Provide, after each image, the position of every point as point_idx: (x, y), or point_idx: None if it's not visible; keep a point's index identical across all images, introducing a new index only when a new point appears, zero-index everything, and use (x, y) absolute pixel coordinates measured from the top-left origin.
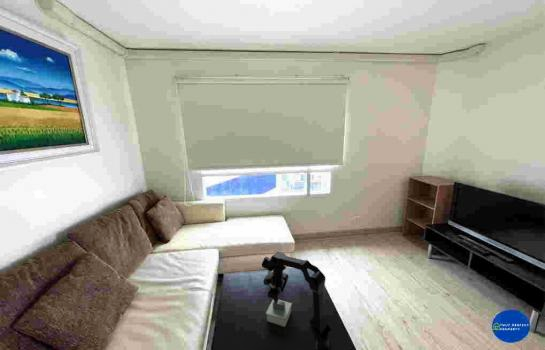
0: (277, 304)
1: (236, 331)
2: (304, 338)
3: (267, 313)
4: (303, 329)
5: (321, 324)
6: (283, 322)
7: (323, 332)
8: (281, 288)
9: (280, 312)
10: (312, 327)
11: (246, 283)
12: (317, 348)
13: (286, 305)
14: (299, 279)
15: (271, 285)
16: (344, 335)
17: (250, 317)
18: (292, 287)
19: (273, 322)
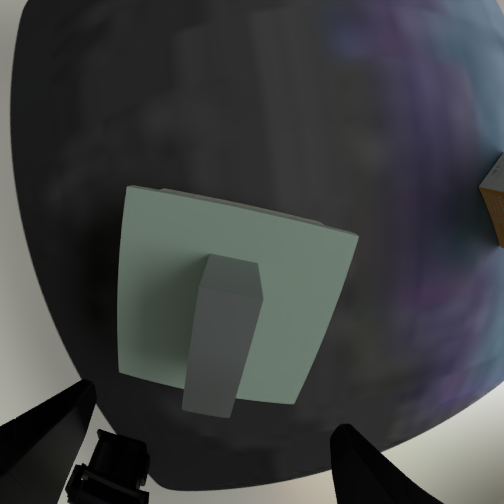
0: (190, 344)
1: (76, 21)
2: (123, 406)
3: (125, 208)
4: (167, 408)
5: None
6: None
7: (122, 491)
8: (354, 481)
9: (171, 335)
10: (75, 498)
11: (471, 13)
12: (101, 437)
13: (265, 374)
14: (497, 339)
15: (494, 179)
16: (192, 490)
17: (183, 46)
18: (467, 319)
19: None
